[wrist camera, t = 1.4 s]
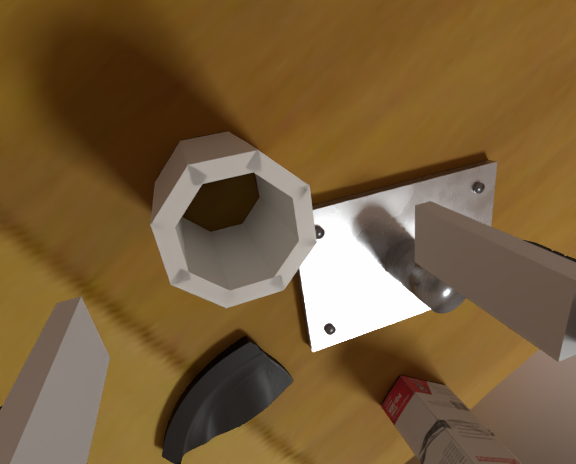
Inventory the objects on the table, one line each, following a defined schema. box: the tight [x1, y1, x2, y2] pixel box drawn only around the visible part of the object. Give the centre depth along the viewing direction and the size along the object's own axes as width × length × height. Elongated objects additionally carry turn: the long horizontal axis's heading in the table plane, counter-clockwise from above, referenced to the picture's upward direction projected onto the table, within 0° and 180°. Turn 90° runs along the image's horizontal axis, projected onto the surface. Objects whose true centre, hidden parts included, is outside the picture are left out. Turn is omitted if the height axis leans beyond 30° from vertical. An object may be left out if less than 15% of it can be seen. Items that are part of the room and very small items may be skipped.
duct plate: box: [297, 160, 497, 352], centre depth 30 cm, size 20×14×7 cm
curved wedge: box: [162, 336, 293, 464], centre depth 33 cm, size 8×14×2 cm, turn 124°
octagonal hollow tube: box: [150, 131, 317, 308], centre depth 22 cm, size 8×8×9 cm
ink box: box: [381, 376, 522, 464], centre depth 37 cm, size 9×5×12 cm, turn 61°
